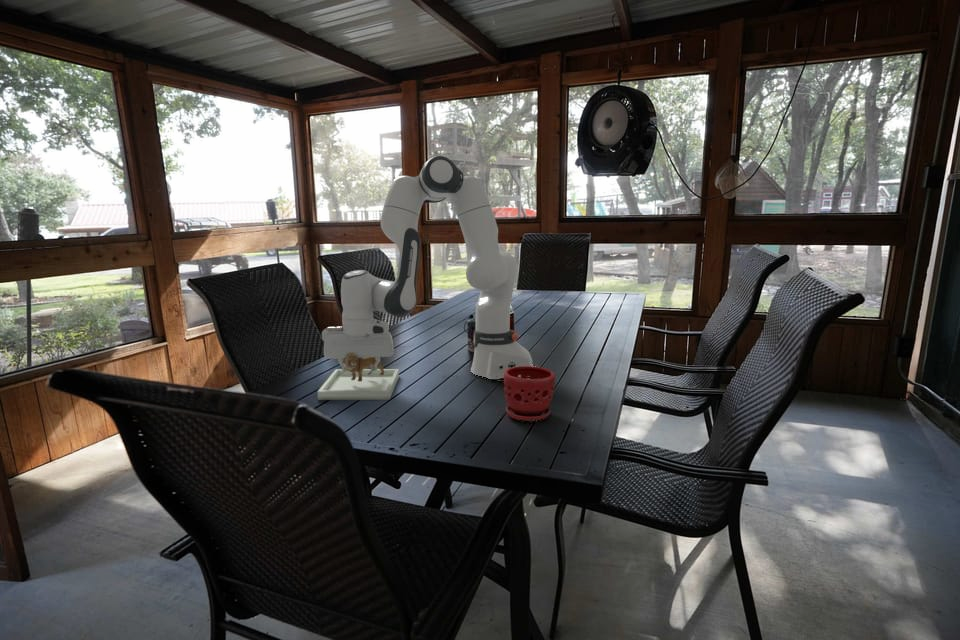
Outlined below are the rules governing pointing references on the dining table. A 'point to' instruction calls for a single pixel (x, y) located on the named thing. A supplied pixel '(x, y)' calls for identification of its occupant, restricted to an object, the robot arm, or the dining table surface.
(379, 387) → the tray
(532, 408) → the plant pot
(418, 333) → the dining table surface
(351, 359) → the lion figurine
